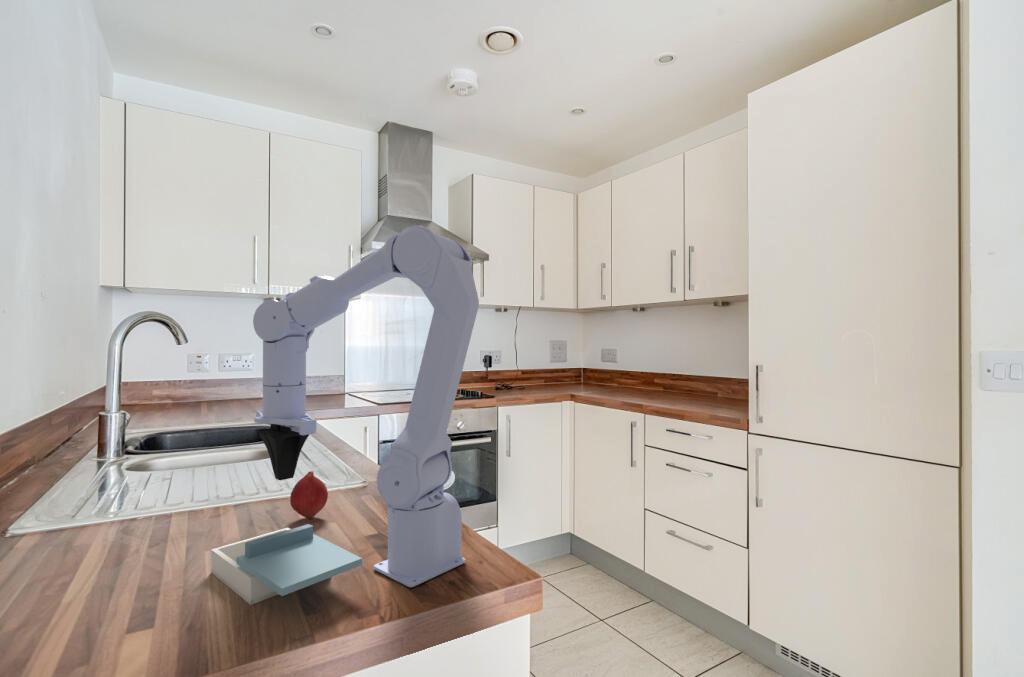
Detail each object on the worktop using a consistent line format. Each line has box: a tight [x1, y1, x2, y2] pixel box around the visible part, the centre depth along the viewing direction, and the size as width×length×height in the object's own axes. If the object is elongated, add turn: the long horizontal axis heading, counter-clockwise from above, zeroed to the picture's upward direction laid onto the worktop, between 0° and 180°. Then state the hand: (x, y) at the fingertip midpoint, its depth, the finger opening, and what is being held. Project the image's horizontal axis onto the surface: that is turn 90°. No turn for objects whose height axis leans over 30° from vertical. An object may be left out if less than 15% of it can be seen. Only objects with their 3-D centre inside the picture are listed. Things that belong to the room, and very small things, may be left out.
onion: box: [289, 470, 329, 520], centre depth 85 cm, size 6×6×8 cm
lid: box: [237, 523, 363, 597], centre depth 60 cm, size 10×12×2 cm
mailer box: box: [210, 527, 291, 606], centre depth 65 cm, size 10×12×3 cm
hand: (284, 478), depth 73 cm, fingers closed
